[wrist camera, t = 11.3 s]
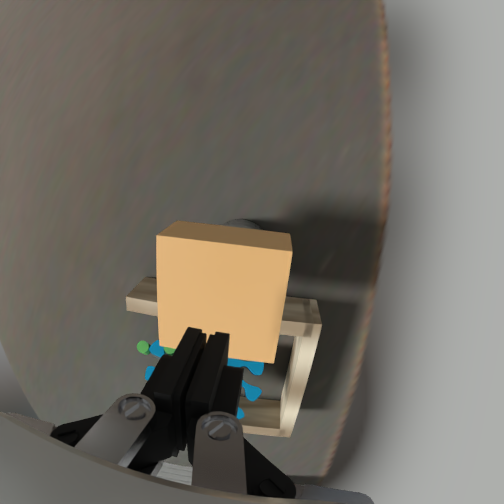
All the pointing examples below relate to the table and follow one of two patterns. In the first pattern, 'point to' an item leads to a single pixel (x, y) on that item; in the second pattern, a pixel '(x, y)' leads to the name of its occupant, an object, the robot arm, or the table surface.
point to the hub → (223, 285)
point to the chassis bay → (304, 346)
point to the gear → (253, 366)
